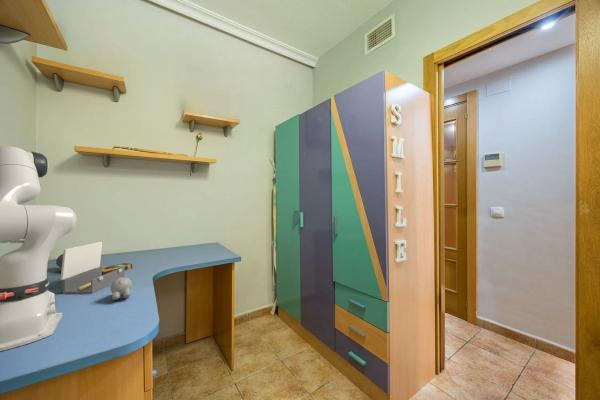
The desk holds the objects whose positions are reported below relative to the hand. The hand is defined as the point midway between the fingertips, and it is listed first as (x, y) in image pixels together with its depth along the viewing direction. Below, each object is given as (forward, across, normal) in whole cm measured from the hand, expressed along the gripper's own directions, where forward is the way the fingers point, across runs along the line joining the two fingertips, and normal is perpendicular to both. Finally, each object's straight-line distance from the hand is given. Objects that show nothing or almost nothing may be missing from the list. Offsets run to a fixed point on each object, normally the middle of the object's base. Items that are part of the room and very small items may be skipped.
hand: (53, 234), depth 110 cm
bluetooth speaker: (-9, +23, +25) cm, 35 cm away
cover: (+14, 0, +12) cm, 18 cm away
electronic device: (+12, +23, +25) cm, 36 cm away
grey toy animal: (+42, -14, +24) cm, 50 cm away
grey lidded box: (+20, 0, +24) cm, 32 cm away
